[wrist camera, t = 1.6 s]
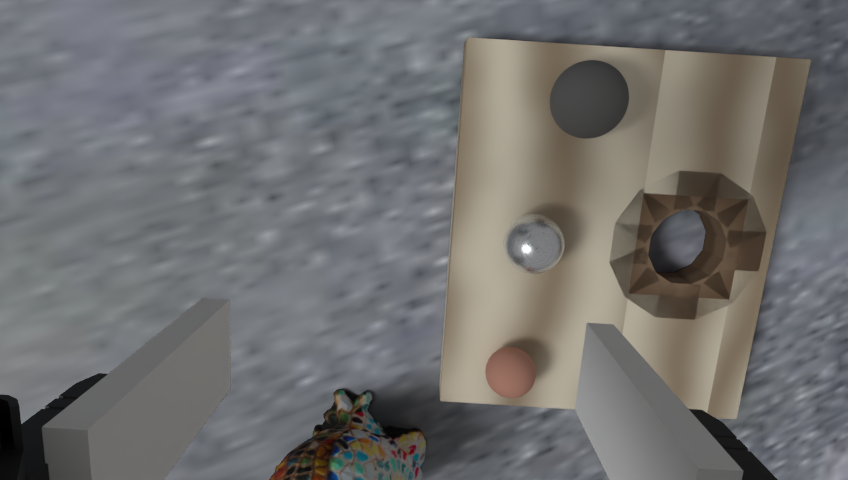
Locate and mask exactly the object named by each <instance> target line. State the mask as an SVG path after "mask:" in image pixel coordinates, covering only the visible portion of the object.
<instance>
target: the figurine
mask: <svg viewBox="0 0 848 480" xmlns="http://www.w3.org/2000/svg"><path fill="white" fill-rule="evenodd" d="M334 398H335V401H334V404H333V406H332V408H331V409H330V410H328V411H326V412H325V413H324V414H323V415H324V418H325V422H324V423H323V424H322V426H319V425H318V426H315V428H314V431H313V437H312V438H311V439H308V440H307V441H305V442H304V443H302V444H301V445H299V446H298V447H296V448H295V449H294V450H292V451H291V452H290V453H288V454H287V456H286V457H285V458H284V459H283V460H282V462H281V463H280V464H279V465H278V466H277V467H276V469H275V473H274V474H273V475H272V477H271V478H270V479H269V480H422V471H421V469H420V467H421V466H422V464H423V463H424V459H425V454H426V450H425V449H426V445H427V443H426V439H425V437H424V435H423V434H422V432H421V430H419V429H416V428H415V429H402V428H395V427H391V426H389V427H387V428H385V427H382V426H381V425H380V424H379V422H377V421H375V420H374V419H373V417H372V416H371V415H370V413H369V412H368V407H369V405H370V404H371V402H372V394H371V393H370V392H369V391H367V392H364V393H362V394H361V395H360V396H354V395H352V394H350V393H348V392H347V391H344V390H336V391H335V392H334Z"/></svg>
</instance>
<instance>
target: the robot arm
mask: <svg viewBox="0 0 848 480" xmlns="http://www.w3.org/2000/svg"><path fill="white" fill-rule="evenodd" d="M230 389H231V356H230V300H224V299H208V298H202V299H201V300H200V301H199V302H197V303H196V304H195V305H194V306H192V307H191V308H190V309H189V310H187V311H186V312H185V313H184V314H182V315H181V316H180V317H179V318H177V319H176V320H175V321H174V322H172V323H171V324H170V325H169V326H167V327H166V328H165V329H164V330H162V331H161V332H160V333H159V334H157V335H156V336H155V337H154V338H152V339H151V340H150V341H149V342H147V343H146V344H145V345H144V346H142V347H141V348H140V349H139V350H137V351H136V352H135V353H134V354H132V355H131V356H130V357H129V358H127V359H126V360H125V361H124V362H122V363H121V364H120V365H119V366H117V367H116V368H115V369H114V370H113V371H111V372H110V373H109V374H100V373H99V374H96V375H94V376H92V377H90V378H87V379H85V380H83V381H80V382H78V383H76V384H74V385H73V386H72V387H70V388H69V389H68V390H66V391H65V392H64V393H62V394H61V395H60V396H59V398H58V399H55V400H53V401H52V402H51V403H49V404H48V405H47V406H45V409H41V410H40V411H39V412H37V413H36V414H35V415H33V416H32V417H31V418H29V419H28V420H27V421H25V422H24V423H23V424H21V420H20V410H19V404H18V400H17V399H15V398H13V397H11V396H9V395H0V480H164V479H165V478H166V476H167V475H168V474H169V472H170V471H171V469H172V468H173V467H174V465H175V464H176V463H177V461H178V460H179V459H180V457H181V456H182V454H183V453H184V452H185V450H186V449H187V448H188V446H189V445H190V443H191V442H192V441H193V439H194V438H195V437H196V435H197V434H198V433H199V431H200V430H201V428H202V427H203V426H204V424H205V423H206V422H207V420H208V419H209V417H210V416H211V415H212V413H213V412H214V411H215V409H216V408H217V407H218V405H219V404H220V402H221V401H222V400H223V398H224V397H225V396H226V394H227V393H228V391H229V390H230ZM575 411H576V413H577V415H578V417H579V419H580V421H581V423H582V425H583V427H584V429H585V431H586V433H587V435H588V437H589V439H590V441H591V443H592V445H593V447H594V449H595V451H596V453H597V455H598V458H599V460H600V462H601V464H602V466H603V468H604V470H605V472H606V474H607V476H608V478H609V480H777V479H776V478H775V477H774V476H773V474H772V473H771V472H770V471H769V470H768V469H767V468H766V467H765V466H764V465H763V464H762V463H761V462H760V461H759V460H758V459H757V458H756V457H755V456H754V455H753V454H752V453H751V452H748V448H747V447H746V446H745V445H744V444H743V443H742V442H741V441H740V440H737V439H736V436H735V435H734V434H733V433H732V432H731V431H730V430H729V429H728V428H727V427H726V426H725V424H724V423H723V422H721V421H719V420H718V419H716V418H714V417H713V416H711V415H710V414H708V413H706V412H705V411H703V410H698V409H688V408H687V407H686V406H685V404H684V403H683V402H682V401H681V400H680V399H679V398H678V397H677V395H676V394H675V393H674V392H673V391H672V390H671V389H670V388H669V386H668V385H667V384H666V383H665V382H664V381H663V380H662V379H661V377H660V376H659V375H658V374H657V373H656V372H655V371H654V370H653V368H652V367H651V366H650V365H649V364H648V363H647V362H646V361H645V359H644V358H643V357H642V356H641V355H640V354H639V353H638V352H637V350H636V349H635V348H634V347H633V346H632V345H631V344H630V343H629V341H628V340H627V339H626V338H625V337H624V336H623V335H622V333H621V332H620V331H619V330H618V329H617V328H616V327H615V326H614V324H600V323H587V324H586V332H585V339H584V346H583V354H582V361H581V368H580V375H579V383H578V390H577V397H576V404H575Z"/></svg>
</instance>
